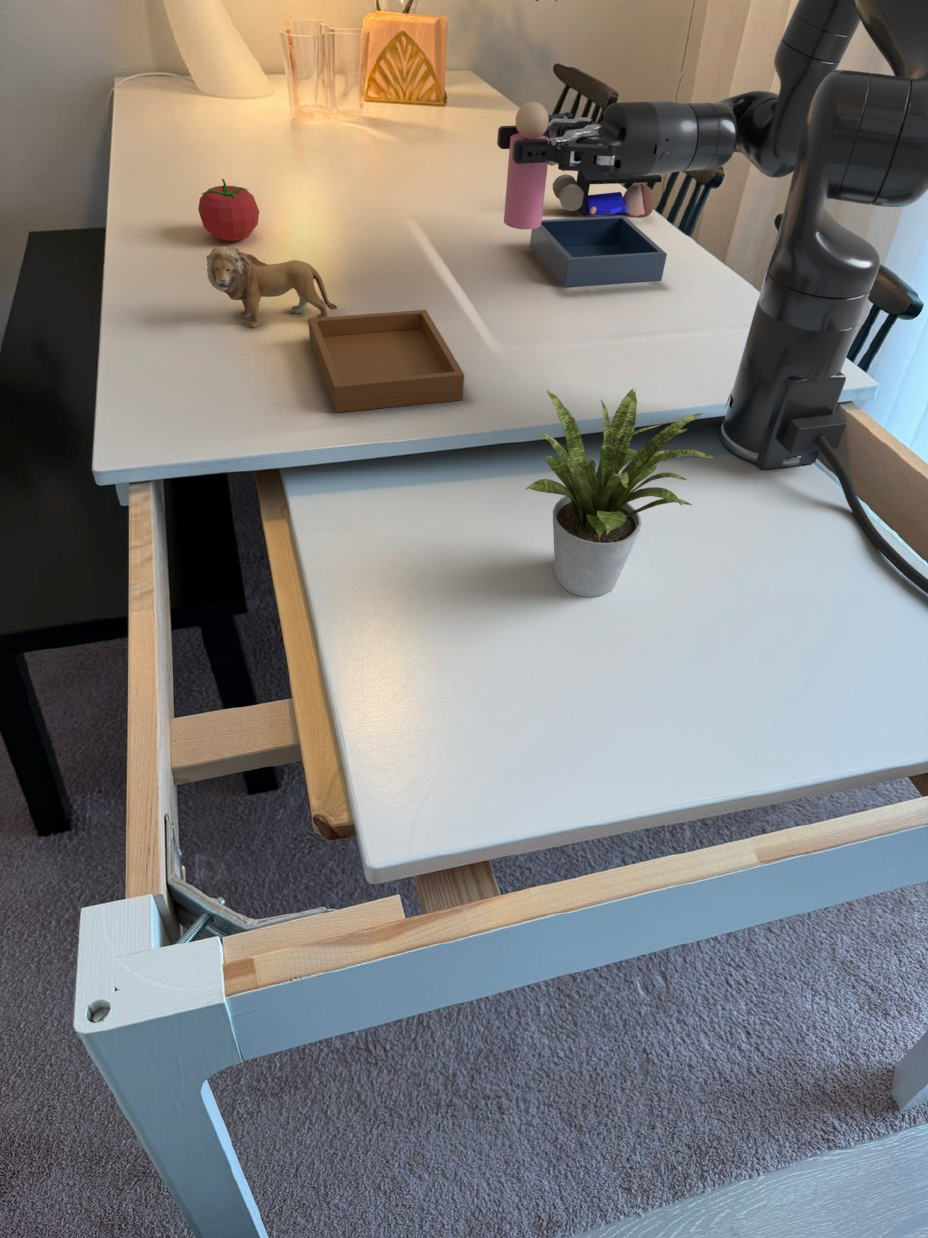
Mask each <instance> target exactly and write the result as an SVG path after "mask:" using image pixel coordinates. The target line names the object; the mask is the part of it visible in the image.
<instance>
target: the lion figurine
mask: <svg viewBox="0 0 928 1238" xmlns="http://www.w3.org/2000/svg"><path fill="white" fill-rule="evenodd" d="M206 261H207V263H206V266H207V267H206V271H207V272H206V273H207V278H208V281H209V283H210V284H211V286H212V287H213V288H215V289H216V290H217V291H219V292H222V293H224V294H226V295H227V296H228V298H229V299H230V300H232V301H241V302H242V304H243V309H244V310H242V311H241V312H240V313H239V316H240V318H241V319H249V318H250V317H251V318H250V319H249V320H247V322H246V324H247V326H248V327H249V328H252V329H254V328H257V327H258V326H259V325H260V319H261V317H260V316H261V315H260V311H259V309H260V308H259V307H260V302H261V299H262V298H276V297H280V296H282V295H284V294H287V293H288V292H289V291H291V290H292V289H293V290H295V292H296V293H297V296H298V299H299V300H298V301H299V302H298V304H297V305H293V306H292V307H291V310H290V311H291V312H292V313H294V314H299V313H301V312H302V311H303V310H304V308H306V306H307V304H310V305H312V306H313V307H315V308H316V309H318V310H319V311H320V313H319V314H317V315H316V316H315V318H320V317H329V315H328V310H327V308H328V309H329V310H337V309H338V305H336V304H335V303H332V302H330V301H329V297H328V294H327V290H326V288H325V284H324V282H323V280H322V277H321V275H320V274H319V272H318V271H317V269H316V268H315V267H313V266H312V265H311V264H310V263H308V262H305V261H302V260H298V259H293V260H288V261H285V262H280V263H271V264H270V263H267V264H266V263H265V262H262V261H261V260H259V259H258V258H257V257H256V256H254V255H252V254H250V253H246V252H243V251H240V250H239V249H238V248H234V247H229V246H219V247H214V248H213V249H212V250H211V251H210V252H209V254H208V255H206ZM315 282H316V284H317V287H318V289H319V291H320V294H321V296H322V298H321V297H320V296H319V294H318V292H317V290H316V287H315Z"/></svg>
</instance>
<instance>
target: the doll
mask: <svg viewBox="0 0 928 1238" xmlns="http://www.w3.org/2000/svg"><path fill="white" fill-rule="evenodd" d="M548 115H549V114H548V111H547V109H546V108H545V106H544V105H543V104H541V103H539V102H537V101H529V102H526V103H524V104H523V105H521V107H519V109H518V110H517V113H516V114H515V126H516V128H517V130H518V132H519V133H518V134H514V135H512V136H511V137H510V149H508V162H507V175H506V176H507V177H506V185H505V187H506V189H505V199H504V200H505V201H504V213H503V223H504V224H505V225H506V226H508V227H510V228H513V229H516V230H517V229H518V230H532V229H535V228H538V227H540V226H541V222H542V220H543V211H544V204H545V192H546V185H547V174H548V167H549V166H548V164H547V161H546V162H544V163H523V164H517V163H515V162H514V161H513V159H512V154H513V144H514V142H515V141H516V140H525V139H547V140H548V143H549V138H548V137H546V136H543V134H544V133H545V131H546V129H547V127H548V123H549V118H548Z"/></svg>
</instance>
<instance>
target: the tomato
mask: <svg viewBox="0 0 928 1238" xmlns="http://www.w3.org/2000/svg"><path fill="white" fill-rule="evenodd" d="M221 181H222V183H223V184H222V185H219V186H214V187H210V188H208V189H207V190H206V191H204V192H202V193H201V196H200V197H199V202H198V203H199V204H198V207H197V208H198V209H197V210H198V213H199V217H200V220H201V223H202V227H203V228H204V229H205V230H206V231H207V232H208V233H209V234H210V235H211V236H212V237H214V238H216V239H217V240H221V241H229V242H230V241H233V242H235V241H241V240H244V239H246V238H248V237H249V236H251V234H252V233H253V232H254V230H255V229H256V228H257V226H258V225H259V218H260V210H259V207H258V203H257V202H256V199H255V197H254V195H253V194H252V193H251V192H250V191H249V189H248V188H245V187H242V186H236V185H227V183H226V181H225V179H224V178H222V179H221Z"/></svg>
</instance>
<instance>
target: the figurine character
mask: <svg viewBox="0 0 928 1238" xmlns="http://www.w3.org/2000/svg"><path fill="white" fill-rule="evenodd" d="M662 179H663V177H662V175H648V176H628V177H609V176H607V175H606V174H605V173H604V172H585V171H577V175H576V179H575V177H574V176H572V175H570V174H561V175H559V176H557V177H556V178H555V179H554V181H553V182H552V191H553V194H554V196H555V197H556V198H557V200H559V203H560V205H561V207H562V208H563V209H564V210H566V211H569V212H572V211H573V212H574V211H577V210H578V211H579V213H580V215H582V216H587V215H588V216H612V215H621V214H623V213H624V214H625V215H627V216H630V217H634V218H646V217H648V216H650V215H651V214H652V212H653V210H654V209H655V207H656V196H655V193H654V191H653V190H652V189H651V187H649V186H648V185H646V184H648V183H662ZM612 184H613V185H614V184H616V185H618V184H619V185H620V184H633V185H631V186H629V187H628V188H627V189H626V190H625V192H624V194H623V193H622V192H621V191H615V192H604V193H595V194H589V193H590V186H591V185H612Z"/></svg>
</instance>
